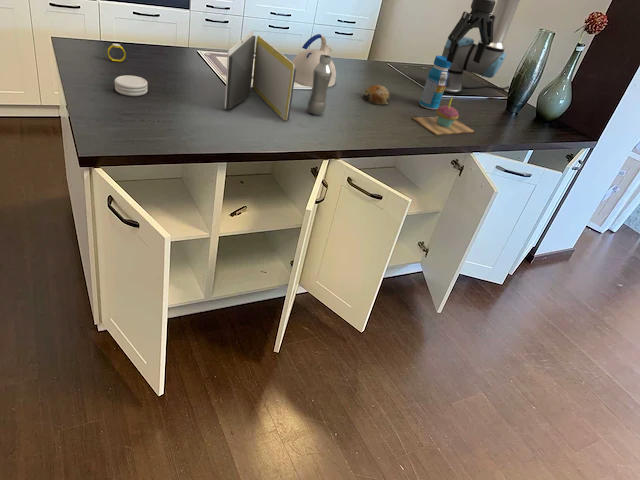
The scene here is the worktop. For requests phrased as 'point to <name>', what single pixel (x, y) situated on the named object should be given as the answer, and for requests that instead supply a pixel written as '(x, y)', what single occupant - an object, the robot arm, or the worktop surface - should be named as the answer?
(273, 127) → the worktop surface
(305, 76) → the kettle
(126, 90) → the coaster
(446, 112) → the cupcake
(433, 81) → the beverage bottle
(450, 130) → the light brown flat board
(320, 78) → the plastic bottle
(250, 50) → the grey folded panel
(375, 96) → the bread roll
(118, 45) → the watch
